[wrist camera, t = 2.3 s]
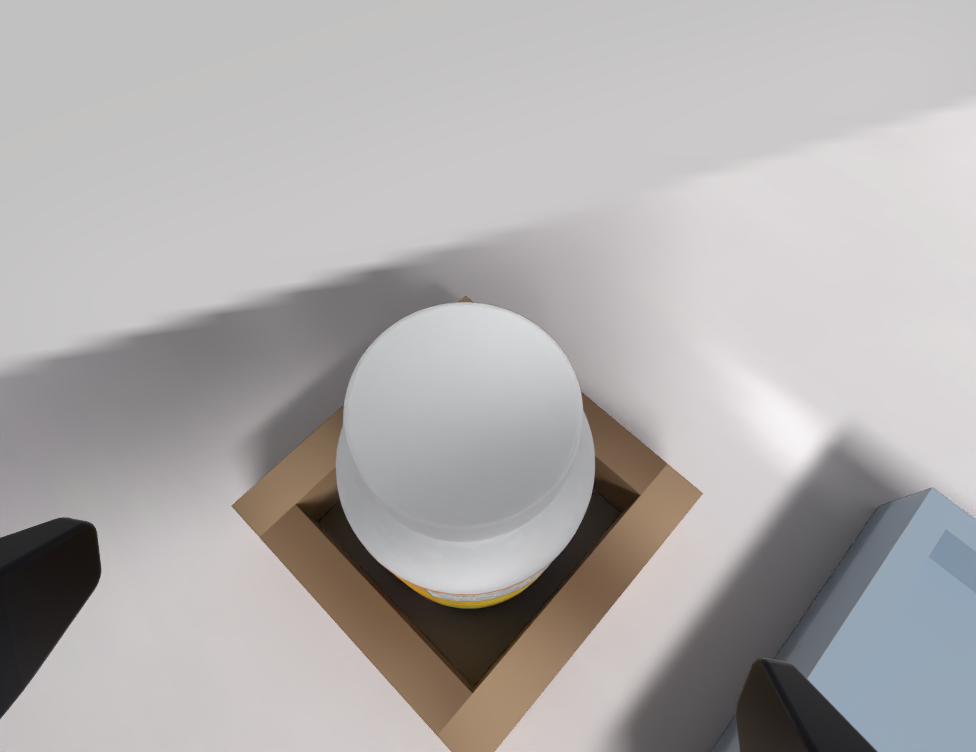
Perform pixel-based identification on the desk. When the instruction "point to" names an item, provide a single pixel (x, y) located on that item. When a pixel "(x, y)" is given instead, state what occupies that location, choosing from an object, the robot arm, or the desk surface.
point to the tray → (897, 630)
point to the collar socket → (397, 640)
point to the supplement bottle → (465, 453)
